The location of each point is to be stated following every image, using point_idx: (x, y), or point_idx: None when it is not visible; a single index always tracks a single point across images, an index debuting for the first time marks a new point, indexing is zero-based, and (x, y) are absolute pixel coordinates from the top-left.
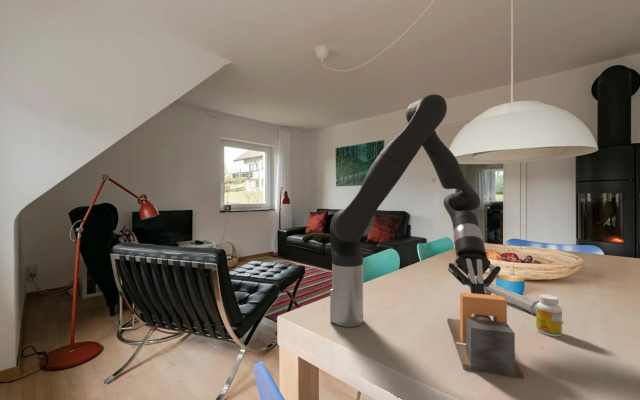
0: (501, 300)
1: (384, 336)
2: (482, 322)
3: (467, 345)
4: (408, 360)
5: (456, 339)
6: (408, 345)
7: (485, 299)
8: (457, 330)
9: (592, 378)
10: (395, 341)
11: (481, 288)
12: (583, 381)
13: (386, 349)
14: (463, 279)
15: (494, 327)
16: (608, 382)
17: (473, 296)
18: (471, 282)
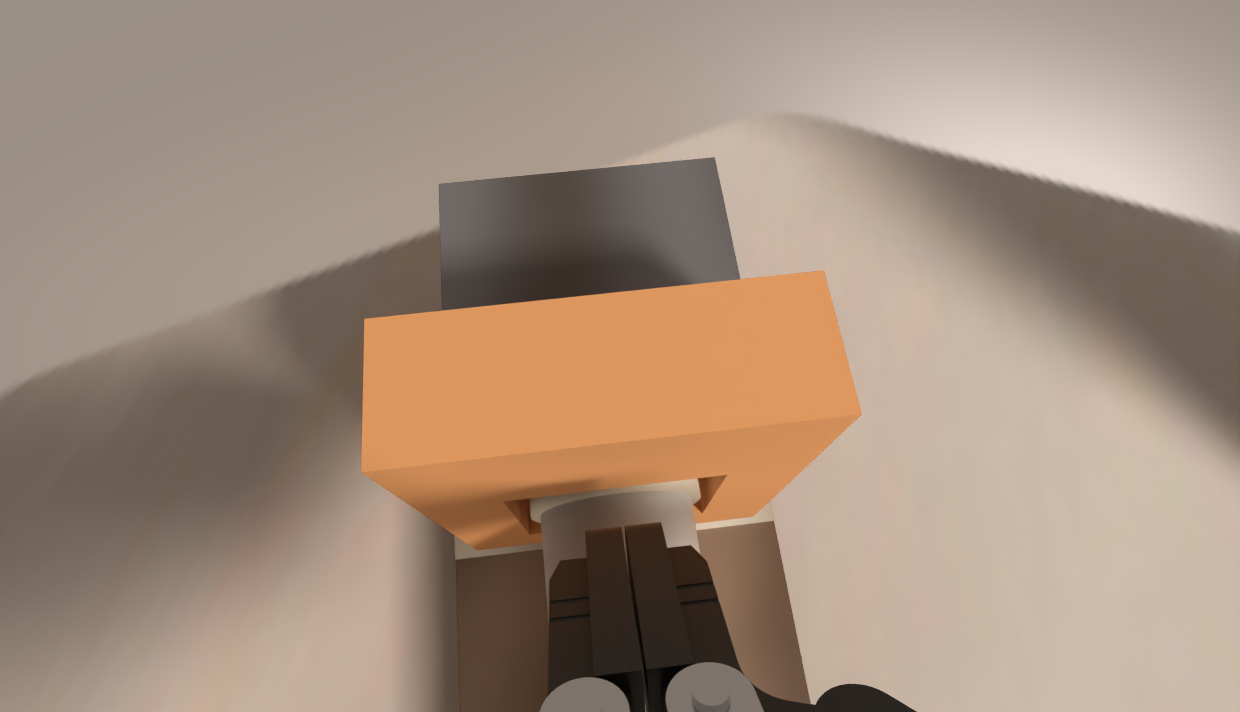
0: (420, 316)
1: (1220, 472)
2: (627, 273)
3: None
4: (983, 263)
5: (771, 571)
6: (1037, 416)
7: (585, 298)
8: None
9: (95, 464)
10: (1127, 433)
11: (583, 650)
12: (164, 414)
13: (1129, 320)
14: (884, 694)
15: (554, 219)
16: (36, 455)
17: (707, 315)
18: (737, 677)
